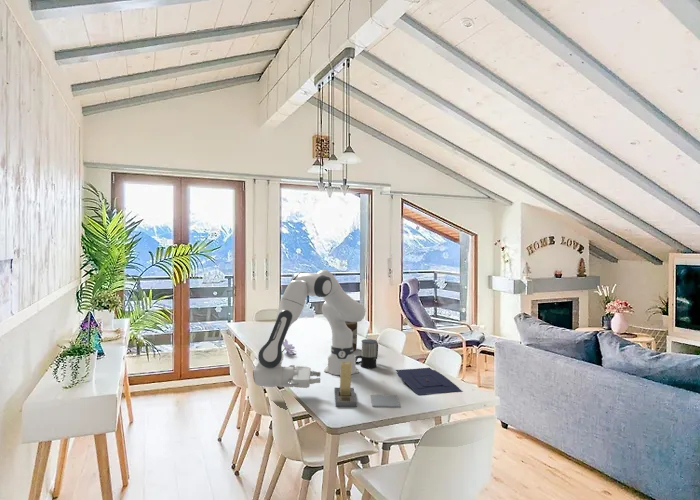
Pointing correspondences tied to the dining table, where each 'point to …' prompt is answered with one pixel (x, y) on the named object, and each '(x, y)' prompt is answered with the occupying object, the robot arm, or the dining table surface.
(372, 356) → the milk frother
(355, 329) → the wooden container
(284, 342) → the purple daisy flower
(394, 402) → the grey mat
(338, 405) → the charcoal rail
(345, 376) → the brass peg
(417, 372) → the navy flat rectangular piece
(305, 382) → the robot arm
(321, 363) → the dining table surface
